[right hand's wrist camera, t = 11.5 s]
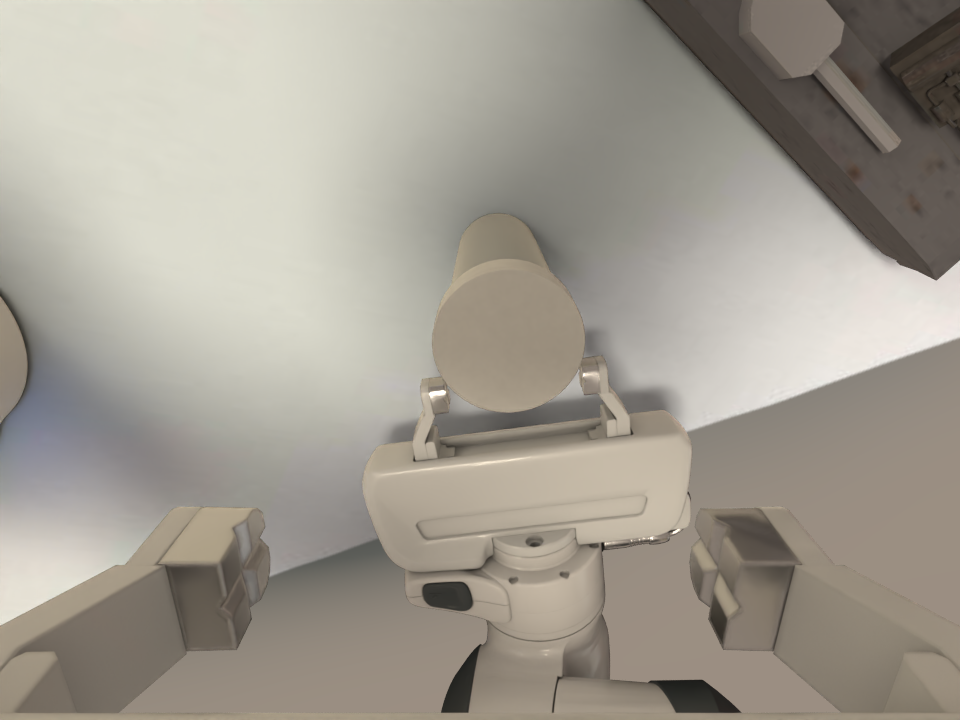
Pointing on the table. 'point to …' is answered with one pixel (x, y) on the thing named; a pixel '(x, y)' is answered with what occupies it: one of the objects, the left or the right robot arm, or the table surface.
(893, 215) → the toy
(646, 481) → the left robot arm
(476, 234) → the jar
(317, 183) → the table surface
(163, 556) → the right robot arm
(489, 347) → the lid
